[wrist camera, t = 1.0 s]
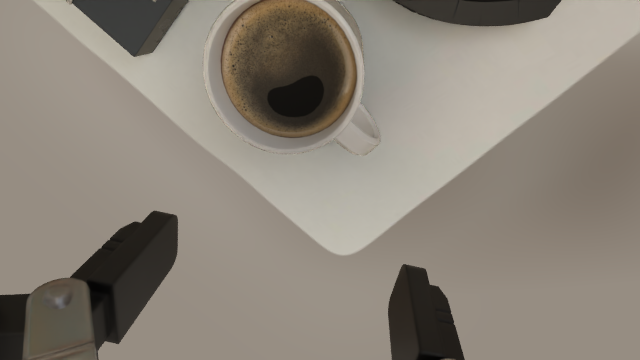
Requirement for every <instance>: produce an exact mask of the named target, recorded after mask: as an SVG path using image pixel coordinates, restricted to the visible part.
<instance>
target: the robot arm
mask: <svg viewBox="0 0 640 360" xmlns="http://www.w3.org/2000/svg"><path fill="white" fill-rule="evenodd" d="M177 242H178V219H177V216H176V215H173V214H168V213H163V212H159V211H153V212H151V213H150V214H149V215H148V216H147V217H146V219H145V220H144V221H143V222H142V223H139V222H133V223H131V224H129V225H127V226H125V227H123V228H121V229H119V230H118V231H117V232H116V233H115V234H114V235H113V236H112V237H111V238H110V240H108V241H107V242H106V243H105V244H104V245H103V246H102V248H101V249H99V250H98V251H97V252H95V253H94V254H93V256H92V257H90V258H89V259H88V260H87V261H86V262H85V263H84V264H83V265H82V266H81V267H80V268H79V269H78V270H77V271H76V272H75V273H74V274H73V275H72V276H71V277H70V278H61V279H57V280H53V281H50V282H47V283H45V284H43V285H41V286H39V287H38V288H37V289H35V290H34V291H33V292H32V293H31V294H16V295H0V360H99V359H98V350H99V348H100V347H101V346H102V344H103V343H104V342H105V341H107V342H112V343H116V344H119V343H120V341H121V340H122V338H123V337H124V335H125V334H126V333H127V331H128V329H129V328H130V327H131V325H132V324H133V323H134V321H135V319H136V318H137V317H138V315H139V314H140V312H141V311H142V310H143V308H144V307H145V305H146V304H147V302H148V301H149V300H150V298H151V297H152V295H153V294H154V292H155V291H156V290H157V288H158V287H159V285H160V284H161V282H162V281H163V280H164V278H165V277H166V275H167V274H168V272H169V271H170V269H171V268H172V266H173V264H174V262H175V259H176V256H177V246H178V243H177ZM388 318H389V330H390V342H391V354H392V360H465V359H464V356H463V352H462V349H461V345H460V341H459V338H458V335H457V331H456V327H455V325H454V320H453V317H452V314H451V310H450V306H449V303H448V300H447V298H446V296H445V295H444V294H443V292H442V291H441V290H440V288H439V287H438V286H433V285H430V284H429V280H428V276H427V272H426V269H424V268H419V267H415V266H410V265H406V264H403V265H402V267H401V269H400V272H399V275H398V278H397V280H396V283H395V286H394V288H393V291H392V294H391V297H390V301H389V308H388Z"/></svg>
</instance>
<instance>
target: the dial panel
mask: <svg viewBox="0 0 640 360" xmlns="http://www.w3.org/2000/svg"><path fill="white" fill-rule="evenodd" d="M66 1H67V2H68V3H69V4H72V3H73V4H74V5H75V6H76V7H77V8H78V9H80V10H81V11H82V12H83V13H84V14H85V15H86V16H88V17H89V18H90V19H91V20H92V21H93V22H94V23H96V24H97V25H98V26H99V27H100V28H101V29H103V30H104V31H105V32H106V33H107V34H108V35H109V36H111V37H112V38H113V39H114V40H115V41H116V42H117V43H119V44H120V45H121V46H122V47H123V48H124V49H126V50H127V51H128V52H129V53H130V54H131V55H132V56H134V57H136V56H140V55H144V54H148V53H152V52H153V51H154V49H155V48H156V46H157V45H158V43H159V42H160V41H161V39H162V38H163V36H164V35H165V33H166V32H167V30H168V29H169V27H170V26H171V25H172V23H173V22H174V20H175V19H176V17H177V16H178V14H179V13H180V11H181V10H182V9H183V7H184V6H185V4H186V3H187V1H188V0H66Z"/></svg>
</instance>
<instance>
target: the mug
mask: <svg viewBox="0 0 640 360" xmlns="http://www.w3.org/2000/svg"><path fill="white" fill-rule="evenodd" d="M203 77H204V82H205V87H206V91H207V94H208V96H209V99H210V102H211V104H212V106H213V108H214V109H215V111H216V113H217V115H218V116H219V117H220V119H221V120H222V121H223V123H224V124H225V125H226V126H227V127H228V128H229V129H230V130H231V131H232V132H233V133H234V134H235V135H237V136H238V137H239V138H240V139H242V140H243V141H245V142H247V143H249V144H250V145H252V146H254V147H257V148H259V149H262V150H265V151H269V152H272V153H279V154H299V153H304V152H309V151H312V150H314V149H317V148H320V147H322V146H323V145H325V144H327V143H329V142H331V141H332V140H333V139H334V140H335V141H336V142H337V143H338V144H339V145H340V146H342V147H343V148H344V149H346V150H347V151H349V152H351V153H353V154H355V155H361V156H365V155H367V154H368V153H369V152H371V151H372V150H373V149H374V148H375V147H377V146H378V145H379V144H380V132H379V129H378V127H377V125H376V123H375V121H374V120H373V118H372V117H371V115H370V114H369V112H368V111H367V110H366V108H365V107H364V106H363V105H362V103H361V102H360V101H361V97H362V94H363V88H364V80H365V78H364V54H363V42H362V37H361V34H360V31H359V28H358V26H357V24H356V22H355V20H354V18H353V17H352V16H351V14H350V13H349V12H348V10H347V9H346V8H345V7H344V6H343V5H342V4H340V3H339V2H338V1H336V0H235V1H234V2H232V3H231V4H230V5H228V6H227V7H226V9H225V10H224V11H223V12H222V13H221V14H220V15H219V16H218V18H217V20H216V21H215V23H214V24H213V26H212V28H211V30H210V32H209V35H208V37H207V40H206V44H205V48H204V54H203Z"/></svg>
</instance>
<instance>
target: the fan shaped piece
mask: <svg viewBox="0 0 640 360" xmlns="http://www.w3.org/2000/svg"><path fill="white" fill-rule="evenodd" d="M393 1H395V2H396V3H398V4H401V5H402V6H403V7H405V8H407V9H409V10H410V11H412V12H417V13H418V14H420V15H423V16H427V17H429V18H432V19H435V20H440V21H443V22H448V23H453V24H460V25H470V26H504V25H513V24H519V23H525V22H530V21H534V20H539V19H542V18H546V17H548V16H549V15H550V14H551V13H552V11H553V10H554V9H555V8H556V6H557V5H558V4H559V3H560V2H561V0H393Z"/></svg>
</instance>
